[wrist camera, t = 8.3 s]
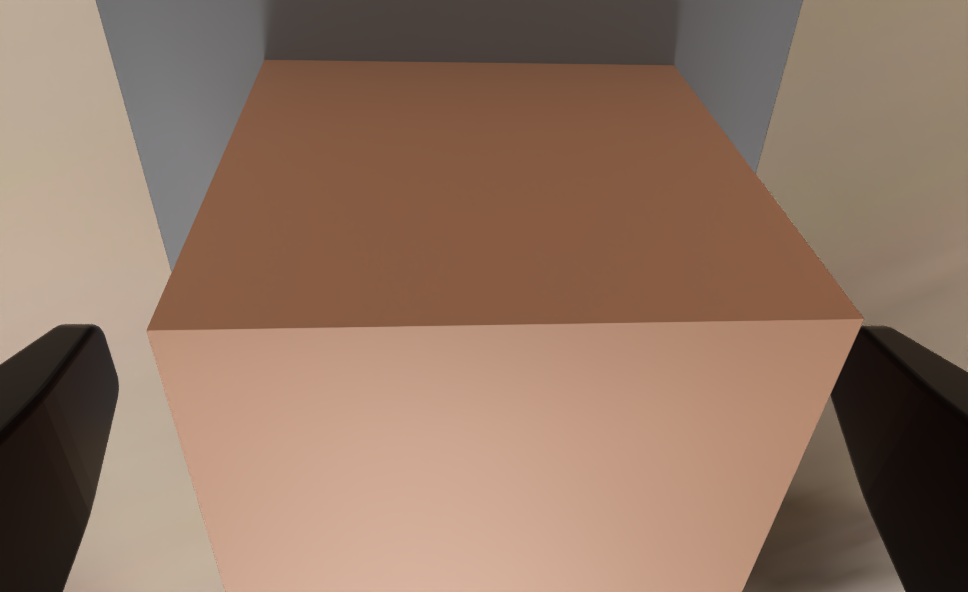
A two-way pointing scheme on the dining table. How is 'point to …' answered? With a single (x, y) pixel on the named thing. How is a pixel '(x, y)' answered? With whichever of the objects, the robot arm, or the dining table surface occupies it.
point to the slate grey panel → (414, 38)
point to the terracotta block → (491, 335)
